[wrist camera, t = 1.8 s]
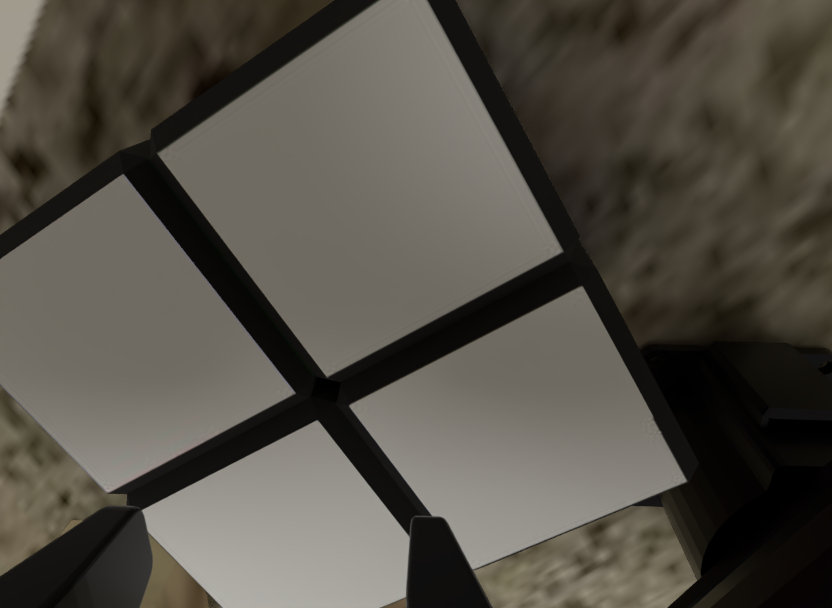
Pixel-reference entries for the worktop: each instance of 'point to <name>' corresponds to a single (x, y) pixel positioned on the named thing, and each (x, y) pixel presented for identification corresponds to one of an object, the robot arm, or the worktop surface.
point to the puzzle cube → (334, 323)
